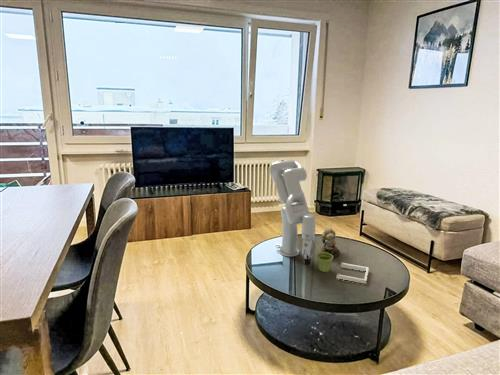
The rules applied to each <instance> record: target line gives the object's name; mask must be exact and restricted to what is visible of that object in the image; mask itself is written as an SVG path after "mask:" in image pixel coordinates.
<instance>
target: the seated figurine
mask: <svg viewBox="0 0 500 375" xmlns="http://www.w3.org/2000/svg"><path fill="white" fill-rule="evenodd" d="M336 237H337V236H336V231H335V230H334V229H332V228H331V227H329V228H328V227H327V228H326V229H324V230H323V231H322V234H321V242H322V244H323V246H322V247H321V248H320V253H322V252H324V253H329V254H331V255H333V259H336V258H338V257H339V256H340V250H339V248H338V247H337V246H336Z"/></svg>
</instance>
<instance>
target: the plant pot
mask: <svg viewBox="0 0 500 375" xmlns="http://www.w3.org/2000/svg"><path fill="white" fill-rule="evenodd" d="M316 258H317V267H318V270H319V271H320V272H321V271H322V273H328V272H330V270H331V264H332V261H333V259H334V258H333V255H331V254H329V253H324V252H322V253H321V252H318V253H317V254H316Z"/></svg>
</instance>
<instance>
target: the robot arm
mask: <svg viewBox="0 0 500 375" xmlns="http://www.w3.org/2000/svg"><path fill="white" fill-rule="evenodd" d="M269 174H270V177H271V179H272V181H273V183H274V184H275V188H276V192H277V195H278V198H279V202H280V203H281V204H283V205H284V206H283V207H282V208H281V211H280V215H281V220H282V221H281V222H282V224H281V225H282V230H281V231H282V233H281V234H282V235H281V237H282V238H281V239H282V240H281V241H282V242H281V244H280V243H276V244H275V247H276V249H279V253H280V255H282V256H284V257H290V258H291V257H297V256H298V255H299V254H300V249H298V231H299V230H298V225H300V224H301V239H302V249H301V251H302V253H301V254H302V256H304V263H303V264H304V266H310V265H311V256H312V255H313V254H314V252H315V239H316V221H317V219H316V218H317V217H316V215H315V214H312V213H311V212H310V211H309V207H308V206H309V205H308V203H307V199H306V197H305V192H304V191H303V190H302V189H303V188H302V186H301V183H300V182H304V181H306V180H307V178H308V174H307V171H306V169H305V168H304V167H303V166H302V164H300V163H299V162H298V161H297V160H295V159H287V160H278V161H274V162H272V163H271V164H270V166H269Z"/></svg>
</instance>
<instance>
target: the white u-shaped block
mask: <svg viewBox="0 0 500 375" xmlns="http://www.w3.org/2000/svg"><path fill="white" fill-rule="evenodd" d="M340 268H341V269H342V268H343V269H349V270H352V269H353V270H354V271H358V270H360V272H363V271H366V272H364V274H365V275H364V277H363V278H360V277H354V276H349V275H345V274H341V273H339V272H336V279H337V278H338V279H337V280H339V279H343V280H342V281H344V280H349V281H355V282H361V283H366V284H367V282H366V281H368V277H367V276H369V271H370V268H369V267H368V266H362V265H358V264H357V265H356V264H351V263H346V262H343V261H341V262H340ZM349 281H348V282H349Z"/></svg>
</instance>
